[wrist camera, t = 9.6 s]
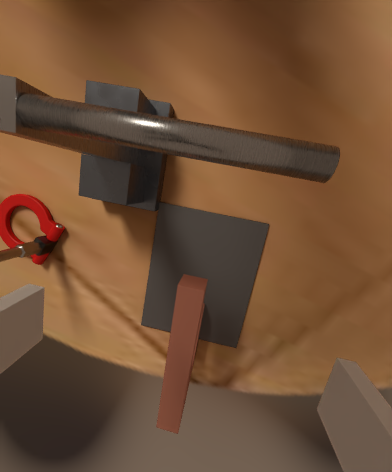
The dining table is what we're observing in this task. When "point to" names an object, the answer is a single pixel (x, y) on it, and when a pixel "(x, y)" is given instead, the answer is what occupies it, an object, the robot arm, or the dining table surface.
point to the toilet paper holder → (145, 141)
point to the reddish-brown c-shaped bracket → (181, 350)
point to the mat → (204, 268)
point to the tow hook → (40, 244)
